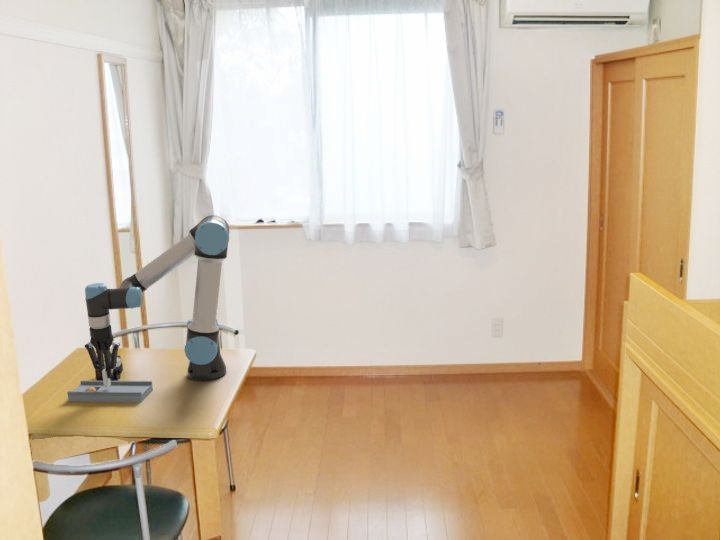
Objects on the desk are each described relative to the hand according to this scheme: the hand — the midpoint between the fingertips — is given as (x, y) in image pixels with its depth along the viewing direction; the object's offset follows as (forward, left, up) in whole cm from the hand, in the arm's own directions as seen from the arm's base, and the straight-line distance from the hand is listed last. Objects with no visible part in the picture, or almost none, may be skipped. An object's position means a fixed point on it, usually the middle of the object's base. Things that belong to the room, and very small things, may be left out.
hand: (107, 385), depth 280 cm
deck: (-1, 0, -4) cm, 4 cm away
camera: (+7, -18, -4) cm, 20 cm away
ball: (+6, 0, -2) cm, 7 cm away
